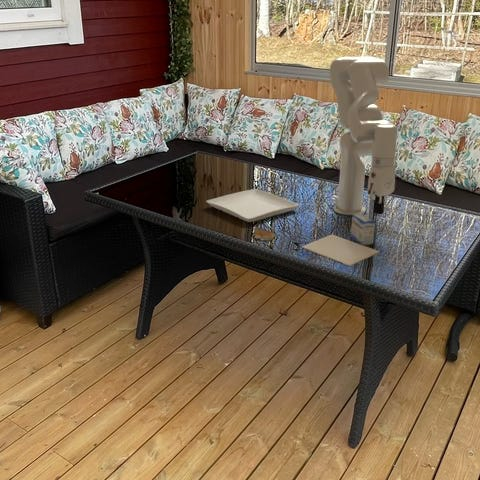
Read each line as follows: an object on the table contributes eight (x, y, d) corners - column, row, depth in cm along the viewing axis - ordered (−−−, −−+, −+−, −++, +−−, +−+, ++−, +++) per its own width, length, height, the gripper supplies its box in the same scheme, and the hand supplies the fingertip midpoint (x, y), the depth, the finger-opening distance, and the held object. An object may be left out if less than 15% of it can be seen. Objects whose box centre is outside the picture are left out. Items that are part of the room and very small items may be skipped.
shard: (255, 229, 202) (255, 225, 201) (276, 230, 201) (276, 226, 200) (253, 241, 192) (253, 236, 191) (275, 242, 191) (275, 237, 190)
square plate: (248, 228, 203) (248, 218, 202) (205, 208, 223) (204, 199, 221) (300, 212, 219) (300, 202, 218) (255, 195, 239) (255, 187, 237)
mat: (301, 247, 185) (301, 246, 185) (331, 235, 195) (331, 234, 195) (349, 266, 172) (349, 265, 172) (379, 252, 182) (379, 251, 182)
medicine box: (350, 237, 194) (352, 214, 190) (360, 235, 195) (363, 212, 192) (362, 245, 187) (364, 222, 184) (373, 244, 188) (375, 220, 185)
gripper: (379, 167, 178) (374, 220, 185) (404, 159, 188) (399, 210, 194) (360, 163, 183) (356, 215, 190) (385, 156, 193) (381, 206, 199)
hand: (378, 212), depth 192 cm, fingers closed
